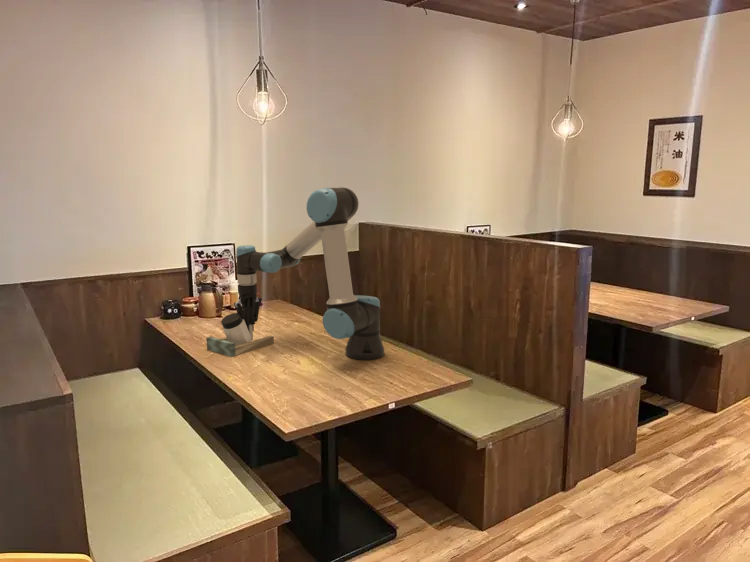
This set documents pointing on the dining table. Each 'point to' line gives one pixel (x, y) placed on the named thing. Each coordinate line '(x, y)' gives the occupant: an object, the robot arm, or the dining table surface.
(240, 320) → the jar
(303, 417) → the dining table surface
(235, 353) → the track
